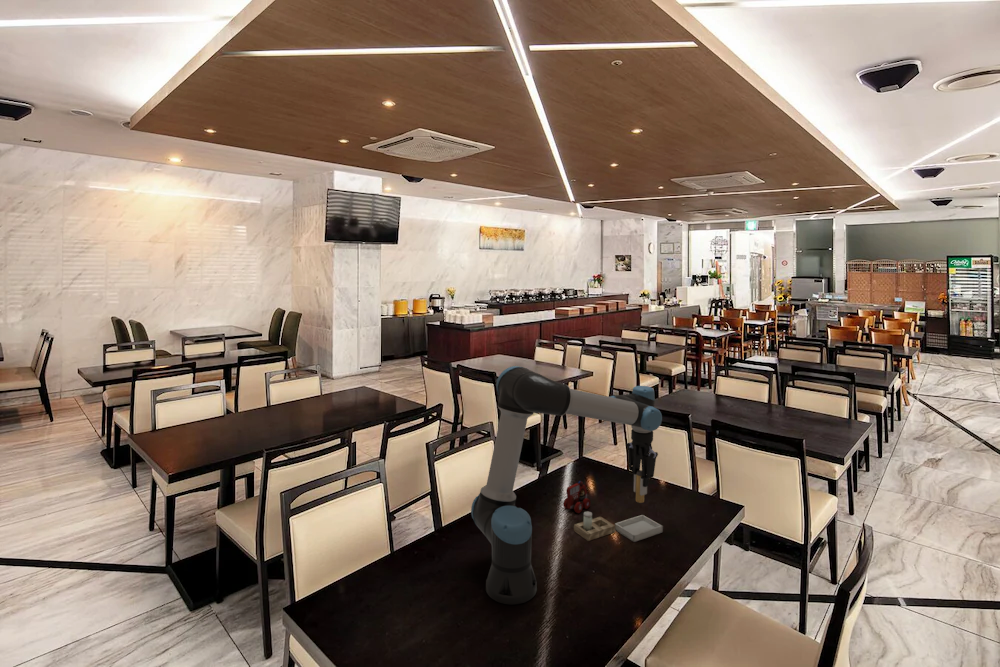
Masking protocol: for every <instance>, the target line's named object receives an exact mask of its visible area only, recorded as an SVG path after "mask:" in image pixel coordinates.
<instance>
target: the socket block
mask: <svg viewBox="0 0 1000 667" xmlns="http://www.w3.org/2000/svg"><path fill="white" fill-rule="evenodd" d="M583 524H584V521H581V522H578V523H574V525H573V531H574V532H575V533H576V534H577V535H579V536H580V537H582V539H585V540H586V541H587V542H590V541H593V540H596V539H599V538H602V537H604V536H608V535H610V534H614V533H616V530H615V524H613V523H612V522H610V521H608V520H607V519H606V518H604V517H602V516H598V517H594V518H592V530H589V531H586V530H584V529H583Z"/></svg>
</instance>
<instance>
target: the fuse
mask: <svg viewBox="0 0 1000 667" xmlns="http://www.w3.org/2000/svg"><path fill="white" fill-rule="evenodd" d="M592 519H593V512H591V511H584V512H583V522H584V524H583V529H584V530H586V531H589V530H592Z"/></svg>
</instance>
